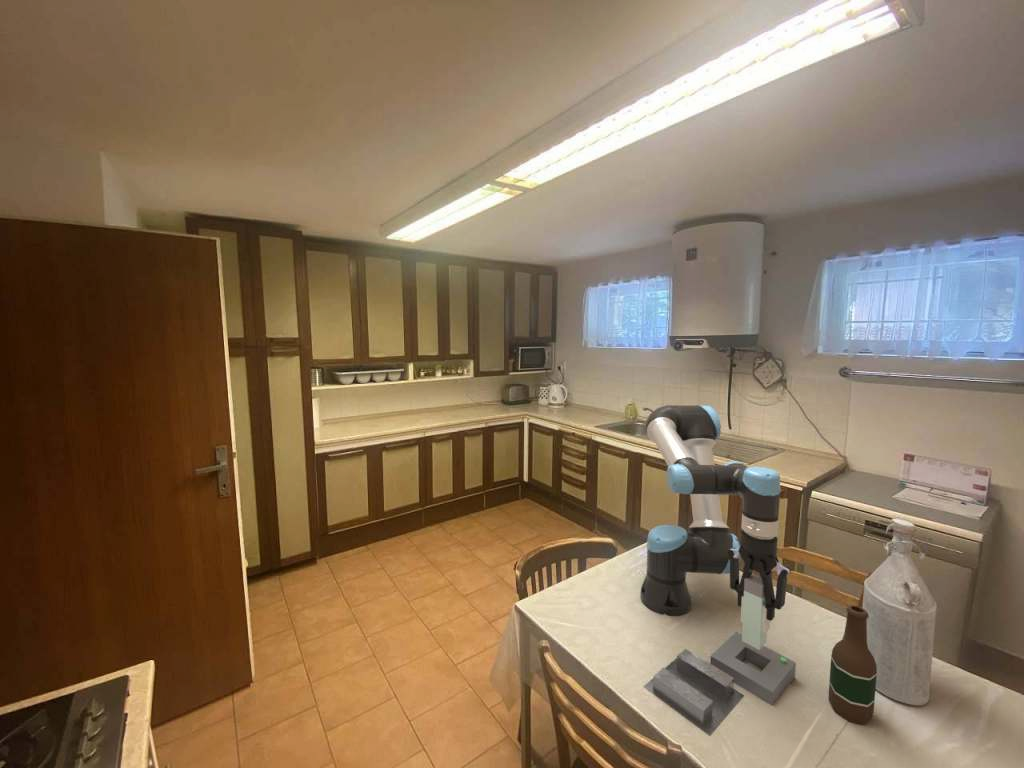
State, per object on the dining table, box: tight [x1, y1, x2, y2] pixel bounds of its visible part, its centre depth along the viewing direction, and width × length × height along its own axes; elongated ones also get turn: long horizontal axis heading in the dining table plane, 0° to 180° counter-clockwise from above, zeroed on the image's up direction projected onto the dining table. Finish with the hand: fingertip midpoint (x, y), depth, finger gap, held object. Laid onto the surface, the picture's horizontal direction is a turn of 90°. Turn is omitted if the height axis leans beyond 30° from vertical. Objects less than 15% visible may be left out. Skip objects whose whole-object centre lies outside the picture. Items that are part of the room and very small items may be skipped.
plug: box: [741, 573, 768, 650], centre depth 102 cm, size 4×4×16 cm
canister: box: [861, 518, 938, 706], centre depth 99 cm, size 13×17×40 cm
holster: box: [643, 648, 745, 737], centre depth 98 cm, size 16×16×4 cm
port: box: [709, 631, 797, 706], centre depth 103 cm, size 14×14×5 cm
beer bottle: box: [828, 604, 877, 726], centre depth 92 cm, size 8×8×24 cm
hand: (754, 625), depth 102 cm, fingers closed on plug, 4 cm apart
